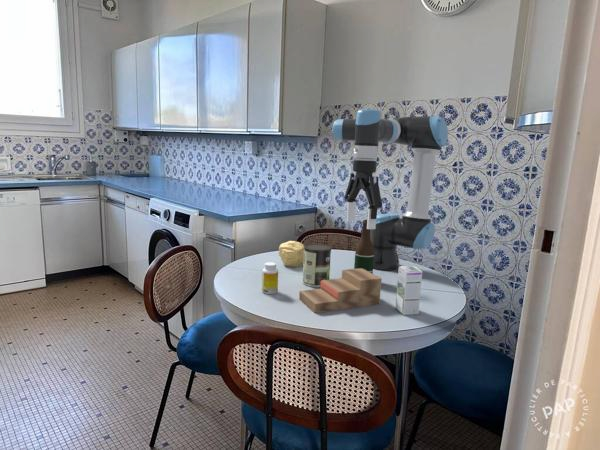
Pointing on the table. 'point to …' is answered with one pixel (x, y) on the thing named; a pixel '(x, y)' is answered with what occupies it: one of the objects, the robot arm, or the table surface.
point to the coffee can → (316, 264)
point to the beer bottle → (364, 250)
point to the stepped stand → (344, 292)
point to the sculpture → (292, 253)
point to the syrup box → (408, 290)
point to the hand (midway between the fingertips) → (360, 225)
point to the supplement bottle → (270, 278)
